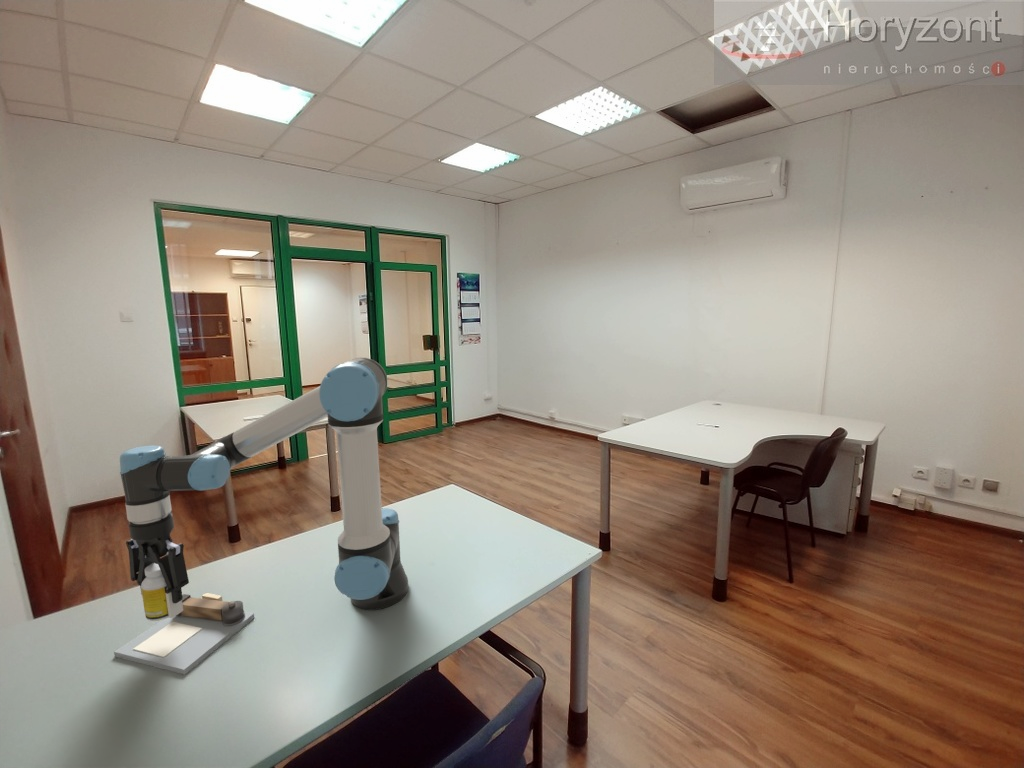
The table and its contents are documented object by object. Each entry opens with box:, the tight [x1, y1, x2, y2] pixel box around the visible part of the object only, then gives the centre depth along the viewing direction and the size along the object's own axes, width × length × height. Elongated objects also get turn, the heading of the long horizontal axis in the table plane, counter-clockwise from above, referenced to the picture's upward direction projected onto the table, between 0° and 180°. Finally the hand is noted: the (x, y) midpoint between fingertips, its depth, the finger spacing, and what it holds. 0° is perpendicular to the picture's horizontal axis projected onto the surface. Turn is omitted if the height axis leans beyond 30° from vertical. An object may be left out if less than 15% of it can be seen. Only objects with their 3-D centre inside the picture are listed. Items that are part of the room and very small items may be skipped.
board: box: [113, 592, 255, 675], centre depth 103 cm, size 20×18×4 cm
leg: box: [176, 593, 245, 624], centre depth 108 cm, size 18×4×4 cm, turn 80°
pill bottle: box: [140, 563, 169, 622], centre depth 99 cm, size 6×6×12 cm
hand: (164, 611), depth 100 cm, fingers closed on pill bottle, 6 cm apart
